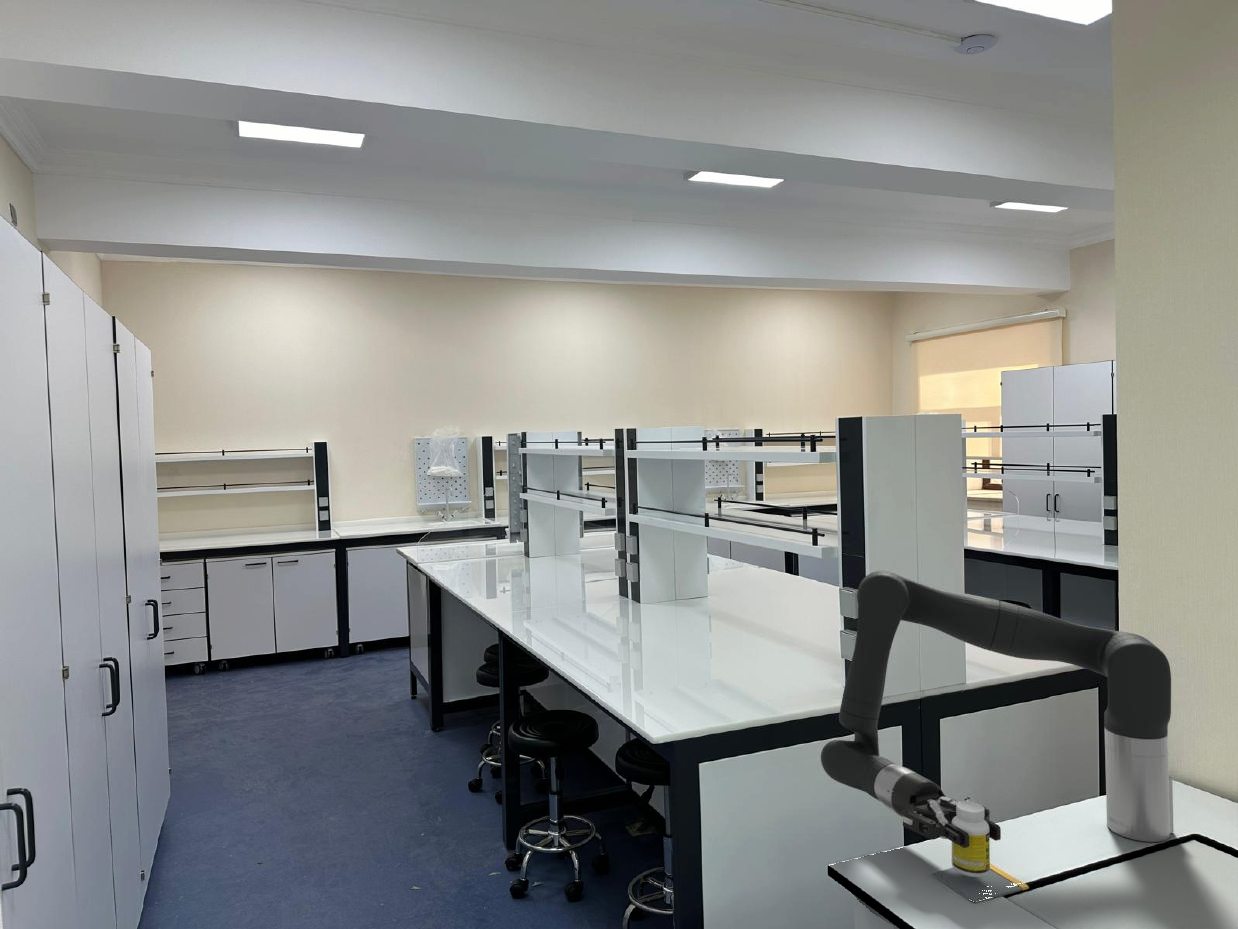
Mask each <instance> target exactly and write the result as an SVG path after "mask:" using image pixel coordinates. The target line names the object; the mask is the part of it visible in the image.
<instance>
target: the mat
mask: <svg viewBox="0 0 1238 929" xmlns="http://www.w3.org/2000/svg"><path fill="white" fill-rule="evenodd" d="M930 875H931V876H933V877H934V878H935V879H937V880H938V879H939V880H938V881H939V882H942V883H943V884H944V883H945V886H947V885H948V886H947V887H949V888H950V887H951V889H952V888H953V889H954V890H953V889H952V890H953V891H955V890H956V891H957V892H956V891H955V892H956V893H958V894H959V893H960V894H959V895H961V894H962V895H963V897H964V898H965V897H966V898H965V899H967V898H968V899H970V900H972V901H974V902H976V901H979V900H983V899H986V898H985V897H987V898H988V897H996V896H1000V897H1003V896H1006V895H1011V894H1014V893H1017V892H1021V891H1026V890H1028V889H1029V888H1030V887H1029V885H1028V884H1026V883H1025V882H1022V881H1021V880H1019V879H1017V878H1016V877H1014V876H1013V875H1011V874H1009V873H1008V872H1006V871H1004V870H1002V869H1001V868H999V867H997V866H995V865H994V864H993V863H991V862H990V871H989V873H988V874H987V875H986V876H983V877H970V876H966V875H963V874H961V873H959V872H957V871H956V870H955V869H954V868H953V867H951V868H945V869H942V870H939V871H935V872H931V874H930ZM1011 883H1012V885H1011ZM1013 883H1015V884H1017V883H1021V884H1017V885H1018V886H1019V887H1018V886H1016V887H1013V888H1010V887H1009V888H1008V887H1006V886H1014V885H1013ZM1022 883H1023V884H1022ZM987 886H989V887H987ZM991 886H992V887H991ZM982 890H983V891H982ZM984 890H985V891H984ZM986 890H987V892H986ZM988 890H992V891H991V892H990V891H989V892H988ZM979 893H980V894H979ZM983 893H988V894H984V895H983ZM989 893H990V894H991V893H992V895H989ZM995 893H996V894H995ZM962 895H961V896H962ZM996 898H997V897H996ZM968 899H967V900H968ZM970 900H969V901H970Z"/></svg>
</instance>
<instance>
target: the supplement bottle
mask: <svg viewBox="0 0 1238 929" xmlns="http://www.w3.org/2000/svg"><path fill="white" fill-rule="evenodd" d="M957 802H958V803H957V804H956V814H957V816H955V817H954V818H953V819H952V824H953V825H955V826H957V827H958V828H960V829H962V830H963V831H965V832H967V833H968V835H969V847H967V848H963V847H961V846H960V845H957V844H955V843H954V842H952V841H951V866H952V868H954V869H955V870H956V871H957V872H959V873H961V874H963V875H966V876H970V877H983V876H986V875H987V874H988V873H989V871H990V863H991V861H990V858H991V855H990V854H991V852H990V850H991V849H990V846H991V845H990V844H991V843H990V839H991V838H990V830H989V825H988V823H987V822H986V821H985V820H984V816H985V814H984V807H985V806H984V805H983V804H982V805H983V806H984V807H983V806H982V805H981V803H980V802H979V803H980V804H979V803H976V802H971V801H965V800H962V801H961V800H960V801H957Z"/></svg>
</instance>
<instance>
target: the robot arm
mask: <svg viewBox="0 0 1238 929" xmlns="http://www.w3.org/2000/svg"><path fill="white" fill-rule="evenodd" d="M856 600H857V606H858V607H857V630H856V636H855V637H856V639H855V645H854V650H853V654H852V657H851V661H850V665H849V669H848V672H847V676H846V680H845V684H844V689H843V694H842V699H841V703H840V709H839V714H838V720H839V723H840V725H841V726H842V727H844V728H845V729H847V730H849V731H852V732H853V733H854V738H853V740H843V739H835V740H831V741H829V742H827V743H826V744H825V745H824V746H823V748H822V750H821V752H820V762H821V765H822V768H823V771H824V772H825V773H826V774H827V776H828V777H830V778H831V779H832V780H834V781H836V782H837V783H840V784H842V785H845V786H848V787H850V788H853V789H856V790H859V791H862V792H863V793H866V794H868V795H869V796H870V797H872V798H874V799H875V800H877V801H879V802H880V803H882V805H884V806H885V807H886V808H887V809H889V810H891V811H892V812H893V813H896V814H897V815H898V816H900V817H901V818H902V827H904V828H906V829H907V830H910V831H912V832H915V833H916V834H919V835H921V836H923V837H925V838H927V839H930V840H936V839H937V837H939V838H941V839H943V840H949V841H950V842H951V843H952V842H954V843H955V844H957V845H960V846H961V847H963V848H967V847H969V835H968V833H967V832H965V831H963V830H962V829H960V828H958V827H957V826H955V825H953V824H952V819H953V818H954V817H955V816H957V814H956V804H957V803H958V802H959V801H957V800H956V799H954V798H951V797H948V796H946V794H944V792H943V790H942V789H941V787H940V786H939V784H937V783H935V782H934V781H932V780H930V779H929V778H926V777H924V776H922V775H920V774H919V773H917V772H915V771H913V770H911V769H910V768H907V767H905V766H902V765H899V764H897V763H895V762H893V761H891V760H890V759H888V758H886V757H883V756H880V749H879V747H880V745H879V734H878V732H879V730H878V723H879V718H880V713H881V708H882V703H883V697H884V691H885V686H886V678H887V672H888V671H887V670H888V664H889V658H890V654H891V649H892V645H893V641H894V639H895V636H896V633H897V630H898V629H899V626H900V623H901V621H902V622H903V621H904V622H908V623H912V624H913V623H914V624H916V625H917V624H918V625H922V626H926V627H929V628H932V629H935V630H937V631H939V632H941V633H944V634H946V635H949V637H953V638H955V639H958V640H959V641H962V642H964V643H966V644H969V645H972V646H975V647H977V648H979V649H983V650H987V651H989V652H993V653H997V654H1001V655H1003V656H1007V657H1012V658H1017V659H1022V660H1033V661H1049V662H1060V663H1064V664H1065V663H1066V664H1070V665H1073V666H1076V667H1079V668H1083V669H1086V670H1087V671H1091V672H1094V673H1097V674H1099V675H1101V676H1104V677H1107V707H1106V710H1105V711H1104V713H1103V714H1104V716H1103V717H1104V720H1103V721H1104V722H1103V724H1104V752H1105V753H1104V755H1105V790H1106V791H1105V792H1106V793H1105V795H1106V796H1105V797H1106V802H1105V803H1106V805H1105V806H1106V807H1105V808H1106V826H1107V827H1108V829H1109V828H1110V829H1111V830H1110V829H1109V830H1110V831H1112V832H1113V833H1115V834H1117V835H1119V836H1122V837H1124V838H1127V839H1131V840H1135V841H1141V842H1149V843H1150V842H1152V843H1153V842H1154V843H1156V842H1157V843H1159V842H1164V841H1166V840H1168V839H1169V838H1170V837H1171V834H1172V833H1174V832H1175V830H1174V791H1173V790H1174V789H1173V788H1174V787H1173V777H1172V776H1171V775H1170V774H1169V773H1170V772H1169V742H1168V741H1169V736H1168V732H1169V730H1168V728H1169V723H1170V720H1171V716H1172V715H1171V714H1172V673H1171V671H1172V670H1171V666H1170V663H1169V659H1168V657H1167V656H1166V654H1165V653H1164V652H1163V651H1162V649H1160V648H1158V646H1157V645H1155V644H1154V643H1153V642H1152V641H1150V640H1149V639H1147V638H1145V637H1143V636H1142V635H1139V634H1136V633H1131V632H1125V631H1121V630H1120V631H1119V630H1114V629H1113V630H1111V629H1107V628H1101V627H1099V628H1098V627H1093V626H1088V625H1084V624H1083V625H1082V624H1079V623H1074V622H1071V621H1069V620H1065V619H1061V618H1059V617H1057V616H1054V615H1050V614H1048V613H1045V612H1041V611H1039V610H1035V609H1031V608H1028V607H1025V606H1021V605H1018V604H1013V603H1010V602H1006V601H1004V600H1003V601H1002V600H998V599H993V598H989V597H984V596H979V595H974V594H969V593H964V592H957V591H950V590H945V589H940V588H935V587H934V586H929V585H926V584H923V583H921V582H918V581H915V580H912V579H909V578H907V577H904V576H901V575H899V574H896V573H894V572H892V571H888V570H877V571H876V570H875V571H873V572H870V573H868V574H867V575H866V576H865V577H864V578H863V579H862V580H861V582H860V583H859V586H858V588H857V592H856ZM964 801H971V802H976V803H979V804H981V803H980V802H979V801H977V800H976V799H975V798H974V797H972V796H969V795H965V796H964ZM981 805H982V806H983V807H984V814H985V816H984V820H985V821H986V822H987V823H988V825H989V830H990V839H991V840H993V841H995V842H997V841H1000V840H1001V838H1002V836H1001V835H1002V834H1001V833H1002V832H1001V830H1002V829H1001V826H1000V825H999V824H997V823H995V822H994V821H992V820H990V816H991V815H990V812H991V810H990V809H989V808H988V807H986V806H984V805H983V804H981ZM926 828H927V829H926Z"/></svg>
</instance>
